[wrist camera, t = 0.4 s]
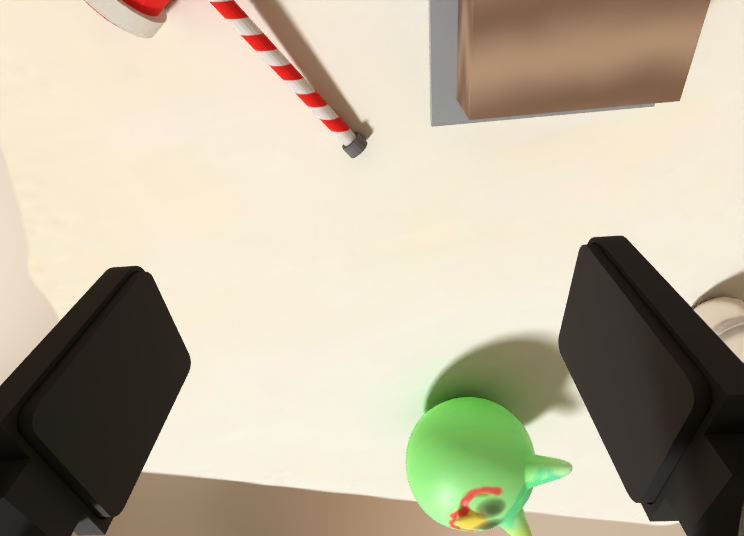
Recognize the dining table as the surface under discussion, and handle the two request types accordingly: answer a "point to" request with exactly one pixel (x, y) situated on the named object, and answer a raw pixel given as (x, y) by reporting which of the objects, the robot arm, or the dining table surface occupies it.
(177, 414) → the dining table surface
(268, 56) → the toy hammer
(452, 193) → the dining table surface
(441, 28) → the baseplate
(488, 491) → the toy bird
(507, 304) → the dining table surface
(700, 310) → the plastic bottle
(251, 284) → the dining table surface
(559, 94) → the walnut brick
